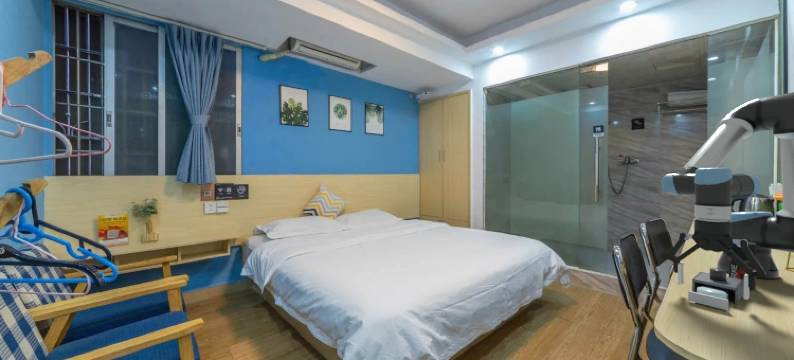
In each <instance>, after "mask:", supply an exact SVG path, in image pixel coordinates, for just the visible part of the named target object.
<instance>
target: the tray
mask: <svg viewBox="0 0 794 360" xmlns="http://www.w3.org/2000/svg"><path fill="white" fill-rule="evenodd" d="M687 294H688V295H687V301H688V302H691V303H693V302H694V303H696V304H701V305H704V306H708V307H712V308H716V309H720V310H725V311H729V299H730V295H729V292H726V299H722V298H718V297H714V296H710V295H705V294H701V293H697V292H692V290H688V293H687Z"/></svg>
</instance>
